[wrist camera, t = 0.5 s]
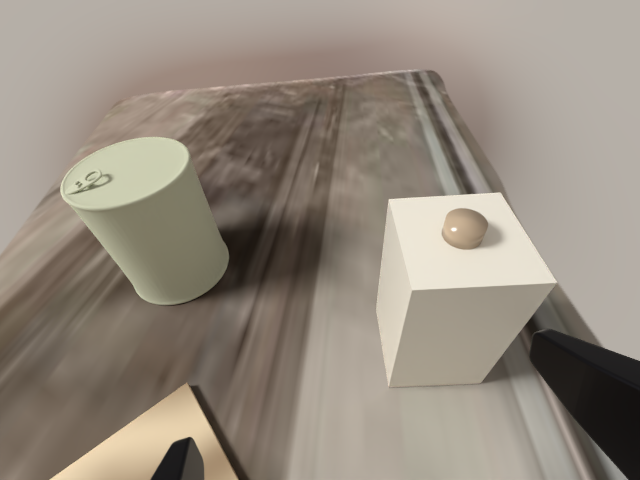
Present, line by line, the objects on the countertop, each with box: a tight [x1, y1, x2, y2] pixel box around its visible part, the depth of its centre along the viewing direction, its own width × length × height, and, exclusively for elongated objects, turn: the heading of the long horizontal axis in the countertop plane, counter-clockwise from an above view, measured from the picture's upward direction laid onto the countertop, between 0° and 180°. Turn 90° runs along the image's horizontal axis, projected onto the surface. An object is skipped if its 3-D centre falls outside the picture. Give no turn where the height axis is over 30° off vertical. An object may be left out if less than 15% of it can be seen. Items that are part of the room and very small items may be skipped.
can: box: [61, 137, 229, 305], centre depth 29 cm, size 9×9×12 cm
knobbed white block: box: [376, 193, 557, 388], centre depth 21 cm, size 6×6×13 cm
